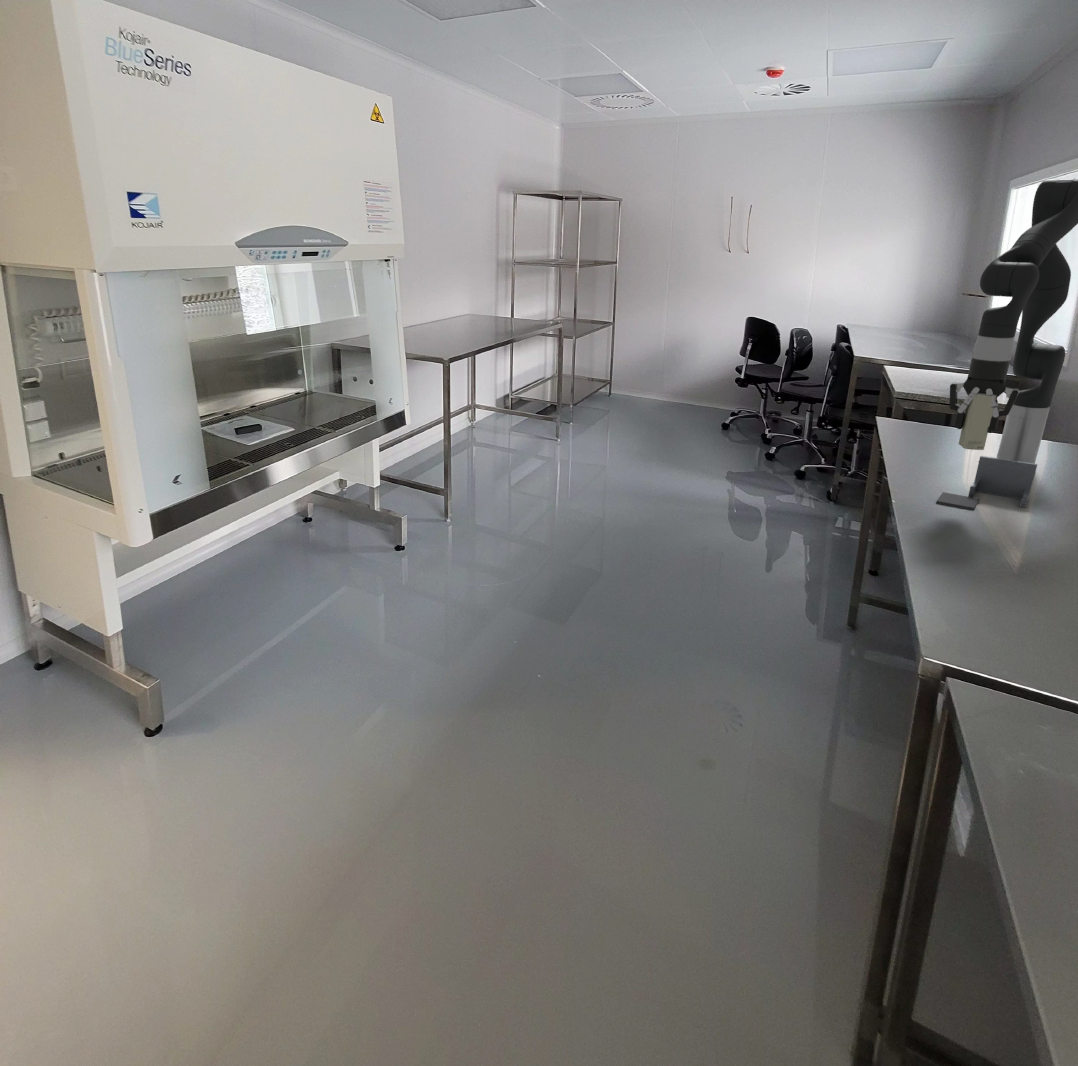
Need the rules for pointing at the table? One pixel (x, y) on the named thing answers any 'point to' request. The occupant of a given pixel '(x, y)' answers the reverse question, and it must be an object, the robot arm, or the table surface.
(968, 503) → the mat
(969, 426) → the box
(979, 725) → the table surface
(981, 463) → the rack bay
